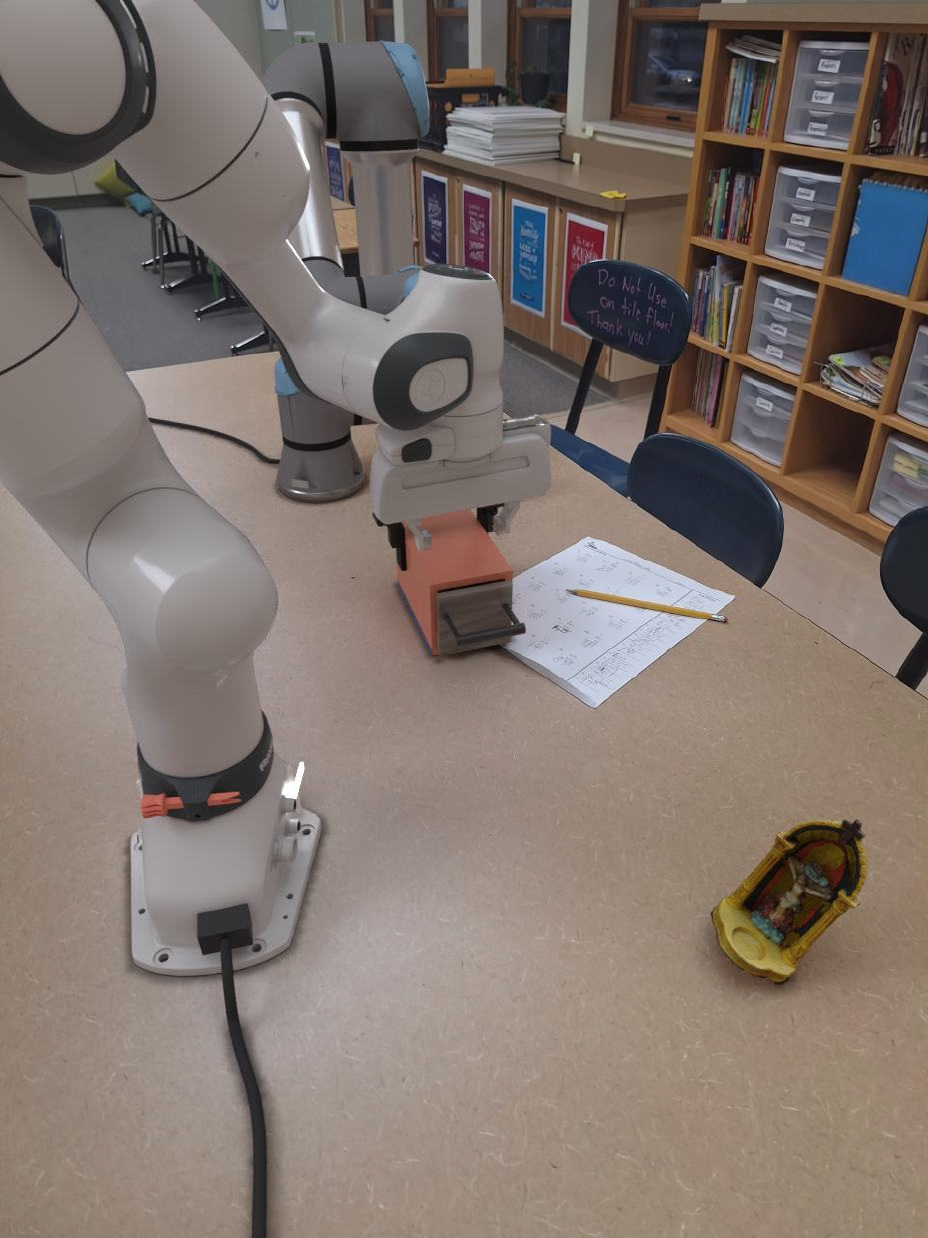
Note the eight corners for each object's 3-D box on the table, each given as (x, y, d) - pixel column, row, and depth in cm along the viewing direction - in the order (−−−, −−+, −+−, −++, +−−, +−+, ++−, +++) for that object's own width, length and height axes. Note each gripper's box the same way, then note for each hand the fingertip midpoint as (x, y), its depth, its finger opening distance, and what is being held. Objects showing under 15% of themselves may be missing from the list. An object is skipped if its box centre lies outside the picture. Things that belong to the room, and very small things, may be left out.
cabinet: (510, 640, 114) (513, 570, 108) (431, 656, 111) (429, 585, 105) (469, 572, 128) (469, 506, 121) (397, 585, 125) (394, 518, 119)
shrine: (791, 892, 81) (830, 781, 73) (851, 966, 75) (901, 853, 66) (686, 929, 78) (714, 817, 69) (739, 1009, 72) (776, 896, 63)
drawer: (527, 669, 108) (530, 610, 102) (453, 684, 105) (452, 625, 100) (471, 578, 125) (471, 524, 119) (407, 589, 122) (404, 535, 117)
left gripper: (539, 401, 96) (535, 511, 104) (360, 429, 90) (370, 542, 98) (563, 423, 91) (557, 536, 99) (375, 453, 85) (385, 570, 93)
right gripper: (516, 385, 112) (511, 532, 125) (340, 407, 106) (353, 559, 119) (538, 406, 106) (530, 558, 119) (352, 430, 101) (365, 587, 113)
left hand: (463, 539), depth 99 cm, fingers open, 8 cm apart
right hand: (442, 558), depth 119 cm, fingers closed on cabinet, 11 cm apart
